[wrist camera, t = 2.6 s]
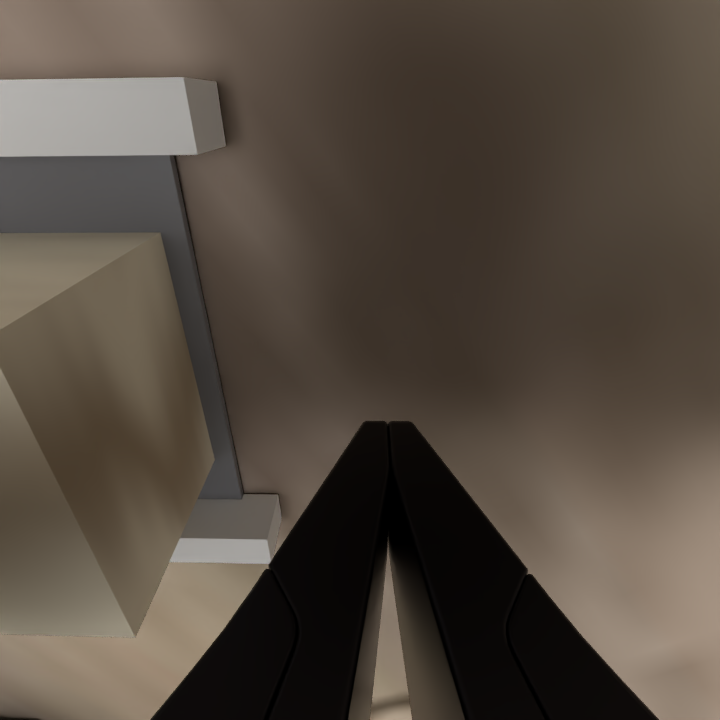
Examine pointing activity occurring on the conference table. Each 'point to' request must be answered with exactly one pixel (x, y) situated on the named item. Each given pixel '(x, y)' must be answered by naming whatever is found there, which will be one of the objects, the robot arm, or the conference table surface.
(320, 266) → the conference table surface
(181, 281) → the trap lane
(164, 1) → the conference table surface
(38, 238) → the birch block
